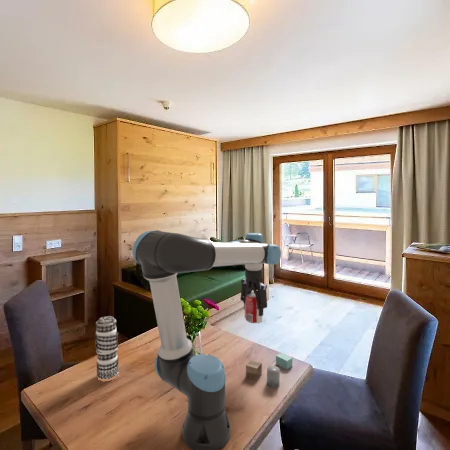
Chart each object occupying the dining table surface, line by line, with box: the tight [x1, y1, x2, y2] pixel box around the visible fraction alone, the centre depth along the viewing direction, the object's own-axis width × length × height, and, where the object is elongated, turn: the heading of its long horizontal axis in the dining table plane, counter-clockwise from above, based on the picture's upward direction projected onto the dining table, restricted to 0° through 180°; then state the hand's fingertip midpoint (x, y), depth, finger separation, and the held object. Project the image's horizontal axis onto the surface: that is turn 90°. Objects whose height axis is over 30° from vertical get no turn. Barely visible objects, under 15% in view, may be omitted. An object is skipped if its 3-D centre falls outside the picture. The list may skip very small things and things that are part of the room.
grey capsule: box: [266, 365, 281, 388], centre depth 121 cm, size 5×5×6 cm
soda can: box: [244, 292, 258, 324], centre depth 132 cm, size 7×7×12 cm
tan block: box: [245, 359, 263, 381], centre depth 127 cm, size 5×5×5 cm
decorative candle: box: [94, 315, 120, 379], centre depth 125 cm, size 9×9×25 cm
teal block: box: [275, 352, 293, 370], centre depth 135 cm, size 4×6×4 cm, turn 43°
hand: (253, 319), depth 133 cm, fingers closed on soda can, 7 cm apart
